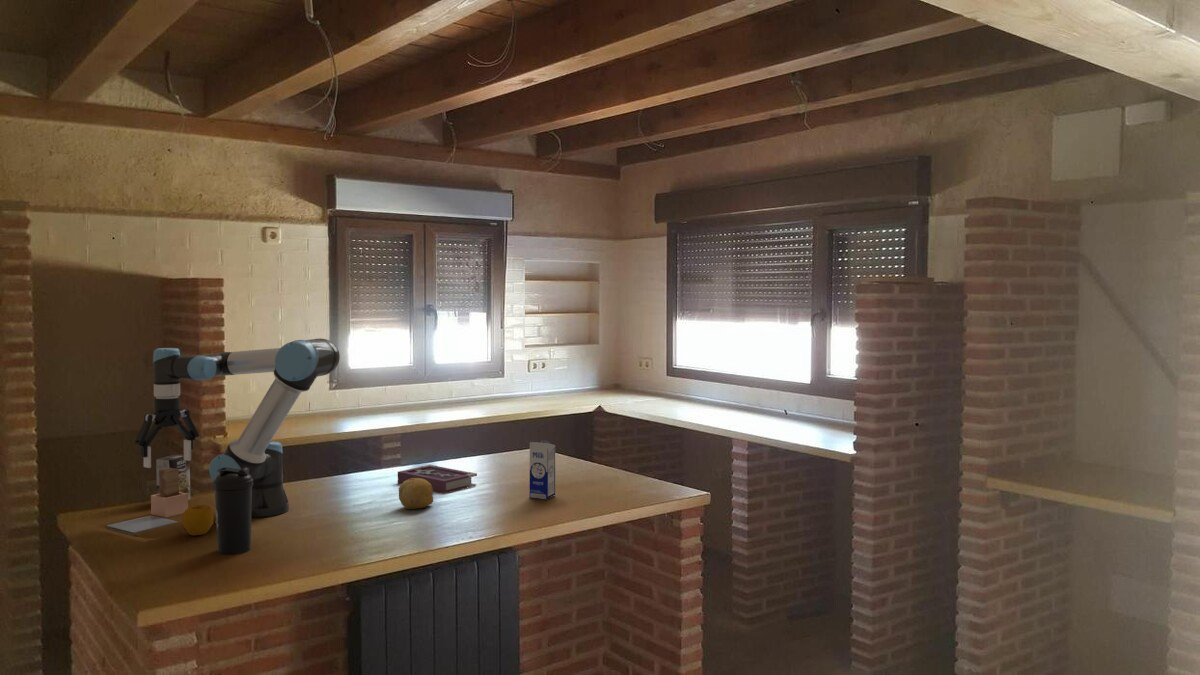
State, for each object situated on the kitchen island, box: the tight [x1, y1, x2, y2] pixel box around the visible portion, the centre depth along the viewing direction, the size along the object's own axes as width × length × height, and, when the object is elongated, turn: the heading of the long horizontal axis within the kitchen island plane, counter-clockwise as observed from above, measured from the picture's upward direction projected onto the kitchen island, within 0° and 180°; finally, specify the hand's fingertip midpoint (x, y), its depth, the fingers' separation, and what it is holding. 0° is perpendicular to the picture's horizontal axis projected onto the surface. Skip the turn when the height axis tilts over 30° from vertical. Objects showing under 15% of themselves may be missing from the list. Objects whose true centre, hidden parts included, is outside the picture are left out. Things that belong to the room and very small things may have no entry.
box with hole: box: [150, 492, 189, 519], centre depth 278 cm, size 8×8×7 cm
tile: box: [106, 514, 179, 537], centre depth 266 cm, size 14×14×1 cm
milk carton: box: [529, 439, 556, 500], centre depth 308 cm, size 7×7×20 cm
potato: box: [398, 478, 434, 510], centre depth 292 cm, size 10×12×10 cm
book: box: [397, 464, 478, 494], centre depth 326 cm, size 25×16×5 cm, turn 53°
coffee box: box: [155, 454, 191, 500], centre depth 293 cm, size 9×6×16 cm
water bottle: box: [212, 467, 253, 556], centre depth 243 cm, size 10×10×23 cm
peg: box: [159, 468, 179, 498], centre depth 278 cm, size 4×4×14 cm
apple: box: [181, 504, 215, 537], centre depth 258 cm, size 8×8×9 cm
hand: (167, 463), depth 278 cm, fingers open, 13 cm apart
